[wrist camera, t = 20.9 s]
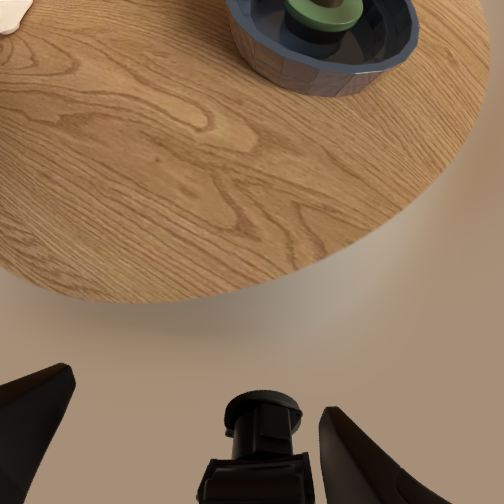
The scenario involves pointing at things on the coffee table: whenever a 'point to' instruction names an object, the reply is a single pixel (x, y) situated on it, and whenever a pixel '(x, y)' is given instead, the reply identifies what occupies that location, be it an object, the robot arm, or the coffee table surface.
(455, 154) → the coffee table surface
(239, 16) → the bowl
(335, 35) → the brush
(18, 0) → the dog bone
